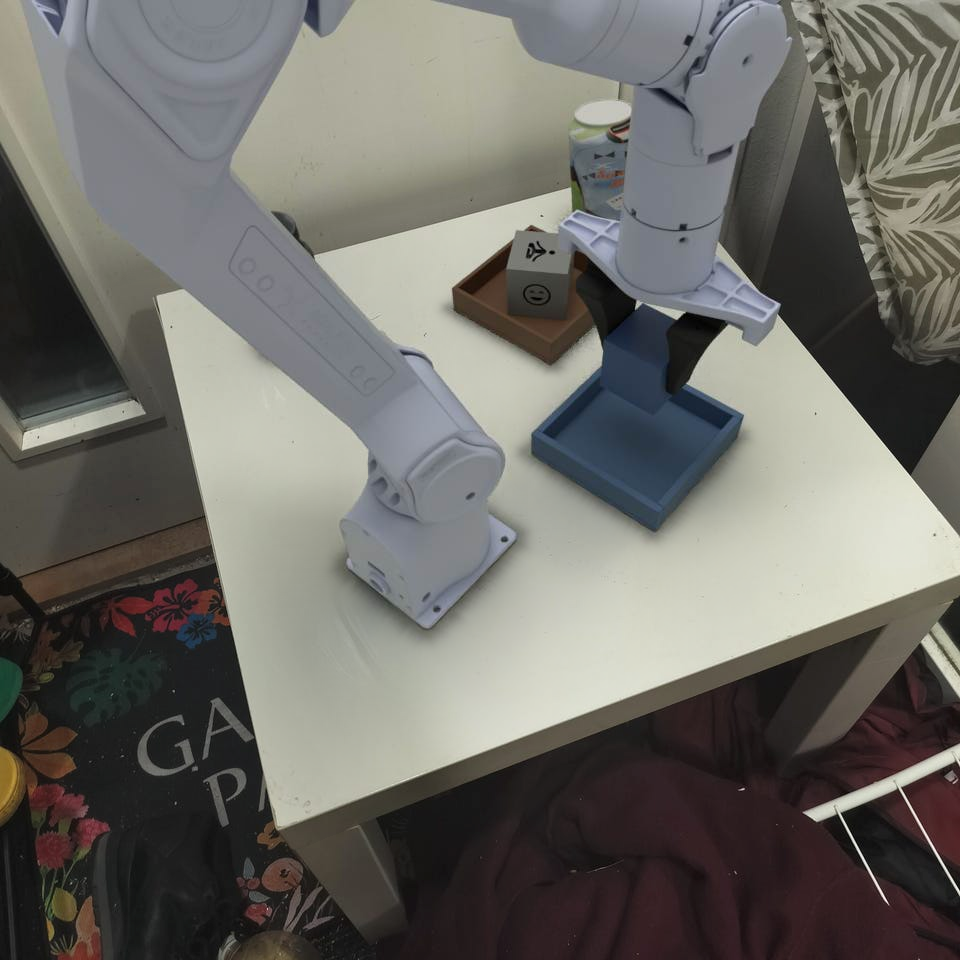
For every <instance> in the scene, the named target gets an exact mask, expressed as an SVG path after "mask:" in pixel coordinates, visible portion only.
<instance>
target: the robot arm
mask: <svg viewBox="0 0 960 960" xmlns="http://www.w3.org/2000/svg"><path fill="white" fill-rule="evenodd" d="M19 1H20V5H21V7H22V11H23V15H24V18H25V21H26V26H27V29H28V32H29V33H28V34H29V36H30V40H31V43H32V47H33V50H34V55H35V59H36V62H37V64H38V70H39V72H40V76H41V80H42V83H43V86H44V90H45V94H46V98H47V101H48V106H49V109H50V113H51V117H52V121H53V123H54V127H55V130H56V135H57V138H58V142H59V144H60V145H59V146H60V150H61V152H62V155H63V158H64V160H65V163H66V165H67V167H68V169H69V171H70V172H71V175H72V177H73V178H74V180H75V182H76V184H77V185H78V188H79V189H80V191H81V193H82V194H83V196H84V199H85V201H86V202H87V204H88V205H89V206H90V207H91V209H92V210H93V212H95V214H96V215H97V216H98V217H99V218H100V220H101V221H102V222H103V223H104V224H105V225H106V226H108V227H109V228H110V229H111V230H112V231H114V233H116V234H117V235H118V236H119V237H121V238H122V239H123V240H124V241H125V242H127V243H128V244H129V245H130V246H132V247H133V248H134V249H135V250H136V251H138V252H139V253H140V254H141V255H142V256H143V257H145V258H146V259H147V260H148V261H149V262H151V263H152V264H153V265H154V266H156V267H157V268H158V269H159V270H160V271H161V272H163V273H164V274H166V276H167V277H169V278H170V279H171V280H172V281H173V282H175V283H176V284H177V285H178V286H180V288H182V289H183V290H184V291H185V292H186V293H188V294H189V295H190V296H192V298H194V299H195V300H196V301H197V302H198V303H200V305H202V306H203V307H205V308H206V309H207V310H208V311H210V313H212V314H213V315H214V316H215V317H217V318H218V320H220V321H221V322H223V323H224V324H225V325H226V326H227V327H228V328H230V329H231V331H233V332H234V333H235V334H237V335H238V336H239V337H241V338H242V339H243V340H244V341H245V342H246V343H248V344H249V345H250V346H251V347H252V348H254V349H255V350H256V351H257V352H258V353H259V354H261V355H262V356H263V357H264V358H265V359H267V360H268V361H269V362H270V363H272V365H273V366H275V367H276V368H277V369H279V371H281V372H282V373H284V374H285V375H286V376H287V377H288V378H290V379H291V380H292V381H293V382H294V383H295V384H297V386H299V387H300V388H301V389H303V390H304V391H305V392H306V393H307V394H308V395H310V397H312V398H313V399H315V401H316V402H318V403H319V404H320V405H322V406H323V407H324V408H325V409H327V410H328V411H329V413H331V414H332V415H334V416H335V417H336V418H337V419H338V420H340V422H342V423H343V424H344V425H345V426H347V427H348V428H349V429H350V430H351V431H352V432H353V433H354V434H355V436H356V437H357V438H358V439H359V441H361V443H362V444H363V446H364V447H366V449H367V450H368V453H367V476H368V477H367V480H366V483H365V486H364V488H363V489H362V492H361V493H360V495H359V497H358V499H357V500H356V501H355V503H354V505H352V507H351V508H349V510H348V511H347V512H346V513H345V514H344V515H343V516H342V518H341V519H340V521H339V530H340V533H341V536H342V539H343V542H344V545H345V547H346V550H347V553H348V556H349V557H348V558H347V559H346V566H347V568H348V569H349V570H350V571H351V572H352V573H354V574H355V575H356V576H358V577H359V578H360V579H361V580H362V581H364V583H366V584H368V585H369V586H370V587H371V588H372V589H374V590H375V591H377V592H378V593H379V594H380V595H381V596H382V597H384V598H385V599H387V600H388V602H390V603H391V604H393V606H395V607H396V608H398V609H399V610H400V611H401V612H403V613H404V615H406V616H408V617H409V618H410V619H411V620H413V622H415V623H416V624H418V625H419V626H420V627H421V628H423V629H426V630H427V629H431V628H432V627H433V626H435V624H436V623H437V622H438V621H439V620H440V619H441V618H443V616H444V615H445V614H446V613H447V612H448V611H449V610H450V609H451V608H452V607H453V606H454V605H455V604H456V603H457V602H458V601H459V600H460V598H462V596H463V595H464V594H466V592H467V591H468V590H470V588H471V587H472V586H473V585H474V584H475V583H476V582H477V581H478V580H479V579H480V578H481V577H482V576H483V575H484V574H485V572H487V571H488V570H489V568H491V566H492V565H493V564H494V563H495V562H496V561H498V559H499V558H500V557H501V556H502V555H503V554H504V553H505V552H506V551H507V550H508V549H509V548H510V547H511V546H512V544H513V543H515V542H516V540H517V533H516V531H515V530H514V529H512V528H511V527H510V526H508V525H506V524H505V523H504V522H502V521H501V520H499V519H498V518H496V517H495V516H493V515H492V514H491V513H489V505H488V499H489V498H490V497H491V495H492V494H493V493H494V491H495V490H496V488H497V486H498V485H499V483H500V480H501V478H502V476H503V474H504V471H505V467H506V455H505V452H504V450H503V448H502V447H501V446H500V444H499V443H498V442H496V441H495V440H494V438H492V437H491V436H489V435H488V434H487V433H486V431H485V430H484V429H483V428H482V426H481V425H480V424H479V423H478V421H477V420H476V419H475V418H474V416H473V415H472V414H471V413H470V412H469V410H468V409H467V408H466V407H465V406H464V404H463V403H462V401H461V400H460V399H459V397H457V395H456V394H455V393H454V392H453V391H452V389H451V388H450V387H449V386H448V384H447V383H446V382H445V381H444V379H443V378H442V376H440V375H439V373H438V372H437V371H436V369H435V367H434V365H433V362H432V361H431V359H430V357H428V355H426V353H425V352H423V351H422V350H420V349H419V348H416V347H412V346H407V345H402V344H399V343H397V342H395V341H393V340H392V339H391V338H390V337H389V336H388V335H387V333H386V332H385V331H383V330H379V328H377V326H376V325H375V324H374V323H373V322H372V321H371V320H370V319H369V318H368V316H367V315H366V314H365V313H364V312H363V311H362V310H361V309H360V308H359V307H358V305H357V304H356V303H355V302H354V301H353V300H352V299H351V298H350V297H349V296H348V294H347V293H346V292H345V291H344V290H343V289H342V288H341V287H340V286H339V285H338V284H337V282H335V280H334V279H333V278H332V277H331V276H330V275H329V274H328V273H327V271H325V270H324V268H323V267H322V266H321V265H320V264H319V263H318V262H317V260H316V259H315V260H314V259H313V257H312V256H311V255H310V254H309V253H308V252H307V251H306V250H305V249H304V248H303V247H302V245H301V244H300V243H299V242H298V241H297V240H296V239H295V238H294V237H293V236H292V234H291V233H290V232H289V231H288V230H287V229H286V228H285V227H284V226H283V225H282V224H281V222H280V221H279V220H278V219H277V218H276V217H275V216H274V215H273V214H272V213H271V212H270V211H271V210H270V209H269V208H268V207H267V205H265V204H264V203H263V201H262V200H261V199H259V197H258V196H257V195H256V193H254V192H253V190H252V189H250V187H249V186H248V185H247V184H246V183H245V182H244V181H243V179H242V178H240V176H239V175H238V174H237V173H236V172H235V171H234V170H233V168H231V163H232V159H233V155H234V154H235V152H236V150H237V148H238V147H239V145H240V143H241V142H242V140H243V138H244V136H245V135H246V132H247V131H248V129H249V127H250V125H251V124H252V122H253V120H254V118H255V117H256V115H257V114H258V111H259V109H260V108H261V106H262V104H263V102H264V100H265V98H266V97H267V95H268V94H269V92H270V90H271V88H272V86H273V84H274V83H275V81H276V79H277V78H278V75H279V74H280V72H281V71H282V68H283V67H284V65H285V63H286V61H287V60H288V58H289V56H290V54H291V51H292V50H293V47H294V45H295V43H296V42H297V39H298V36H299V34H300V31H301V29H302V27H303V23H304V24H305V25H306V26H307V27H308V28H310V29H311V31H313V32H314V33H315V34H316V36H317V37H319V38H320V39H322V38H325V37H327V36H330V35H331V34H332V33H334V32H335V31H336V30H337V28H338V26H339V25H340V24H341V22H342V21H343V20H344V18H345V17H346V15H347V14H348V12H349V11H350V9H352V6H353V5H354V3H355V2H356V0H19ZM431 1H432V2H437V3H442V4H446V5H451V6H454V7H458V8H463V9H467V10H473V11H476V12H481V13H485V14H489V15H494V16H498V17H502V18H507V19H511V22H512V26H513V29H514V33H515V35H516V37H517V39H518V42H519V43H520V45H521V46H522V48H523V50H524V51H525V52H526V53H527V54H528V55H529V56H531V57H532V58H533V59H534V60H536V61H538V62H542V63H546V64H549V65H553V66H556V67H559V68H564V69H567V70H572V71H575V72H580V73H584V74H588V75H591V76H595V77H599V78H602V79H606V80H610V81H614V82H618V83H622V84H626V85H629V86H633V91H632V99H631V100H632V101H631V105H632V109H631V119H630V129H629V140H628V150H627V159H626V169H625V179H624V189H623V197H622V206H621V216H620V221H616V220H611V219H605V218H601V217H596V216H593V215H590V214H587V213H584V212H582V211H579V210H576V211H574V212H573V213H571V214H569V216H567V217H566V218H565V219H563V220H562V221H561V222H560V223H558V229H557V233H558V249H560V250H562V251H564V252H566V253H568V254H572V253H574V252H575V251H576V250H578V251H580V252H582V253H584V254H586V255H587V256H588V265H587V266H586V270H585V271H584V272H583V273H581V274H580V275H579V276H578V277H577V279H576V282H575V292H576V293H577V294H578V295H579V296H580V298H581V299H582V300H583V302H584V303H585V305H586V306H587V308H588V310H589V312H590V314H591V316H592V318H593V320H594V322H595V325H594V326H595V329H596V331H597V334H598V337H599V341H600V345H601V349H602V350H603V345H604V339H605V338H606V337H607V336H608V335H609V334H611V333H612V332H613V331H614V330H615V329H616V328H617V327H618V326H619V325H620V324H621V323H622V322H623V321H624V320H625V319H626V318H627V317H628V316H630V315H631V314H632V313H633V312H634V311H635V310H636V307H637V301H638V302H640V303H644V304H646V305H652V306H657V307H660V308H666V309H671V310H675V311H680V312H684V313H682V314H681V315H680V316H679V317H678V318H677V319H676V321H675V322H674V323H673V324H672V325H671V326H670V327H669V328H668V329H667V331H666V337H667V340H668V345H669V367H668V371H667V376H666V392H668V393H669V394H671V395H676V394H677V393H678V392H679V390H680V389H681V388H682V387H683V386H684V385H685V384H688V383H689V381H690V380H691V378H692V376H693V373H694V371H695V369H696V368H697V365H698V363H699V362H700V360H701V358H702V357H703V355H704V353H705V352H706V351H707V349H708V348H709V346H711V344H712V343H713V341H714V340H715V339H717V337H718V336H720V335H721V333H722V332H723V331H724V330H725V329H726V328H727V327H728V326H729V325H730V326H731V327H734V328H736V329H737V330H739V331H742V335H741V339H742V341H744V342H746V343H747V344H748V343H749V344H750V345H752V346H754V347H758V346H759V345H760V344H761V343H762V341H764V340H765V338H766V337H767V336H768V335H769V334H770V333H771V332H772V330H774V328H775V323H776V321H777V318H778V315H779V311H780V308H781V305H782V304H781V303H779V302H778V301H775V300H774V299H772V298H769V297H768V296H766V295H765V294H763V293H762V292H761V291H759V290H757V288H755V287H754V286H753V285H752V284H750V283H749V282H748V281H747V280H746V279H744V278H743V277H742V275H740V274H739V273H738V272H737V271H735V270H734V268H732V267H731V266H729V264H728V263H726V262H725V261H724V260H723V259H722V258H721V257H720V256H718V254H716V253H717V248H718V245H719V239H720V235H721V230H722V225H723V221H724V216H725V211H726V207H727V204H728V199H729V195H730V189H731V186H732V185H731V184H732V181H733V176H734V171H735V167H736V164H737V163H736V162H737V158H738V153H739V150H740V145H741V141H744V140H745V139H746V138H747V137H748V135H749V133H750V130H751V129H752V128H754V127H755V124H756V119H757V115H758V111H759V107H760V105H761V102H762V100H763V98H764V96H765V95H766V93H767V91H768V90H769V89H770V87H771V86H772V85H773V83H774V82H775V80H776V78H777V77H778V75H779V73H780V72H781V70H782V68H783V66H784V64H785V62H786V59H787V57H788V55H789V53H790V49H791V46H792V43H793V40H794V39H793V37H792V36H789V37H788V33H787V32H788V25H787V19H786V17H785V14H784V9H783V6H782V5H780V4H778V3H780V1H781V0H431ZM503 540H506V542H504V541H503ZM436 609H439V611H437V612H436V611H435V610H436Z"/></svg>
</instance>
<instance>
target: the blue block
mask: <svg viewBox="0 0 960 960" xmlns="http://www.w3.org/2000/svg"><path fill="white" fill-rule="evenodd" d="M676 320H677V319H676V318H674V317H672V316H670V315H668V314H666V313H664V312H662V311H661V310H658V309H656V308H654V307H653V306H650V305H649V304H647V303H643V302H641V304H640V305H639V306H638V307H637V308H635V311H634V312H633V313H632V314H631V315H630V316H628V317H627V318H626V319H625V320H624V321H623V322H622V323H621V324H620V325H619V326H618V327H617V328H616V329H615V330H614V331H613V332H612V333H611V334H609V335H608V336H607V337H606V338H605V339H604V345H603V349H602V355H601V356H602V357H601V365H600V367H601V376H600V386H601V387H603V388H605V389H606V390H608V391H610V392H612V393H614V394H615V395H617V396H619V397H621V398H622V399H624V400H626V401H628V402H629V403H631V404H633V405H635V406H637V407H638V408H640V409H642V410H644V411H645V412H647V413H649V414H651V415H653V416H654V414H655V413H656V412H657V411H658V410H659V409H660V408H661V407H662V406H663V405H664V404H665V403H666V402H667V401H668V400H669V399H670V398H671V397H672V395H671V394H669V393H668V392H666V376H667V371H668V367H669V345H668V340H667V337H666V331H667V329H668V328H669V327H670V326H671V325H672V324H673V323H674V322H675V321H676Z"/></svg>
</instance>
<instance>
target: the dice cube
mask: <svg viewBox="0 0 960 960" xmlns="http://www.w3.org/2000/svg"><path fill="white" fill-rule="evenodd" d="M513 239H514V241H513V244H512V248H511V252H510V256H509V260H508V264H507V268H506V278H507V309H508V315H514V316H525V317H536V318H546V319H557V320H566V315H567V310H568V305H569V299H570V294H571V289H572V283H573V268H574V253H572V254H568V253H566V252H564V251H562V250H560V249H558V232H547V231H545V232H534V231H524V230H520V229H519V230H518V229H516V230H515V233H514V237H513Z"/></svg>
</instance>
